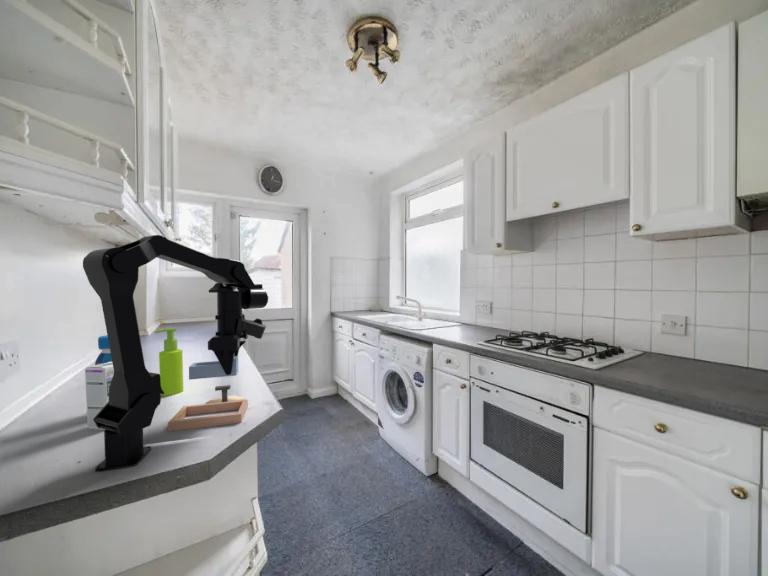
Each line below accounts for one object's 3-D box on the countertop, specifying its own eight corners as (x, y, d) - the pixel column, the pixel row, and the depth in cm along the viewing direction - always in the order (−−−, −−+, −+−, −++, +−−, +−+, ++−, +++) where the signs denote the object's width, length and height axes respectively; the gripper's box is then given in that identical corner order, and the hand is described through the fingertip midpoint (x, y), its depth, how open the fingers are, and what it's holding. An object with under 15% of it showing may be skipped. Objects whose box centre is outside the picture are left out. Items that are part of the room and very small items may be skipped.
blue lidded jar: (117, 417, 81) (115, 337, 81) (86, 416, 82) (84, 338, 82) (145, 404, 90) (143, 332, 90) (116, 404, 90) (114, 333, 90)
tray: (241, 424, 75) (241, 414, 75) (168, 433, 71) (168, 422, 71) (248, 409, 85) (247, 399, 85) (183, 416, 81) (183, 406, 81)
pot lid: (241, 408, 85) (241, 389, 85) (199, 413, 83) (198, 394, 83) (247, 396, 95) (246, 379, 95) (209, 399, 93) (209, 382, 92)
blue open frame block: (189, 379, 77) (188, 362, 77) (193, 374, 81) (193, 358, 81) (236, 375, 80) (236, 359, 80) (238, 371, 85) (238, 355, 85)
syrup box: (106, 430, 74) (104, 367, 73) (86, 429, 75) (84, 366, 75) (131, 420, 79) (129, 361, 79) (111, 418, 80) (109, 360, 80)
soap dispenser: (154, 395, 98) (152, 329, 98) (181, 389, 102) (179, 326, 102) (157, 400, 93) (155, 330, 93) (185, 394, 98) (183, 328, 98)
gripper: (260, 311, 75) (260, 379, 75) (266, 307, 93) (267, 362, 93) (206, 313, 72) (207, 383, 72) (224, 309, 90) (224, 365, 90)
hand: (230, 372), depth 82 cm, fingers closed on blue open frame block, 5 cm apart
